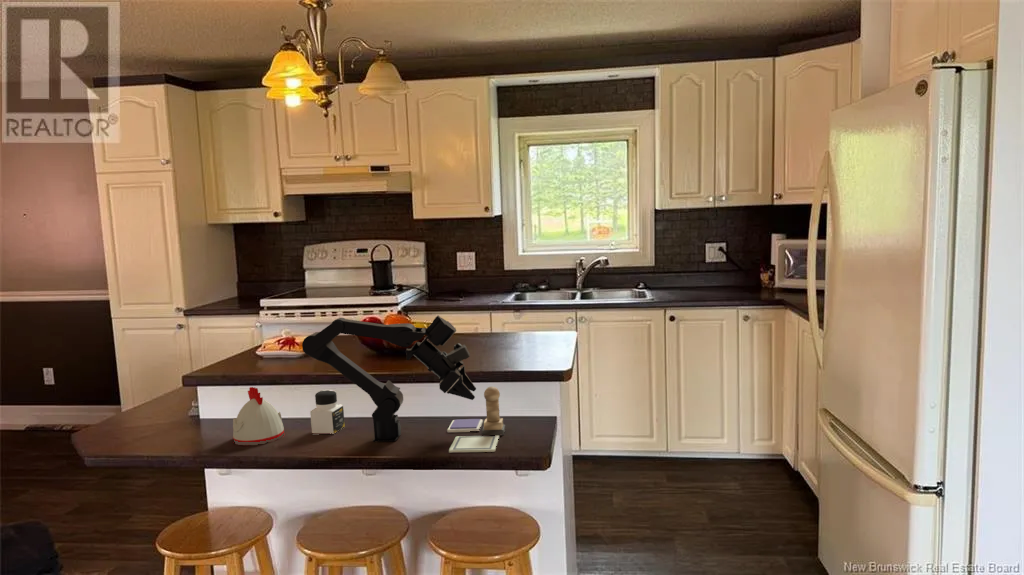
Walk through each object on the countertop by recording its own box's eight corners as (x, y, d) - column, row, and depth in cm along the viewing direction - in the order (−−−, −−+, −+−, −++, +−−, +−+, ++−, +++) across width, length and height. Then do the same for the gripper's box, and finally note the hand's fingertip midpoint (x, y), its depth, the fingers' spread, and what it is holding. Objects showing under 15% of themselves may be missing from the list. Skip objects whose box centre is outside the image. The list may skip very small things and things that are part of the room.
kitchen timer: (272, 427, 199) (267, 379, 197) (292, 436, 189) (288, 386, 187) (225, 439, 189) (221, 389, 188) (245, 449, 179) (240, 396, 178)
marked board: (448, 452, 168) (448, 449, 168) (456, 438, 179) (456, 436, 179) (494, 451, 167) (494, 449, 167) (499, 437, 178) (499, 435, 178)
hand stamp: (482, 435, 180) (479, 389, 179) (484, 430, 185) (482, 384, 184) (503, 435, 180) (501, 388, 179) (505, 429, 185) (502, 384, 184)
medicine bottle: (334, 435, 188) (330, 394, 187) (311, 434, 189) (308, 394, 188) (345, 427, 195) (342, 388, 194) (323, 427, 196) (320, 388, 195)
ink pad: (447, 432, 185) (447, 428, 185) (453, 422, 194) (452, 418, 194) (478, 431, 184) (478, 427, 184) (482, 422, 193) (482, 418, 193)
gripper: (448, 342, 171) (493, 381, 172) (453, 331, 189) (494, 365, 190) (421, 373, 171) (465, 411, 172) (428, 359, 190) (468, 393, 191)
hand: (474, 394), depth 182 cm, fingers open, 9 cm apart
